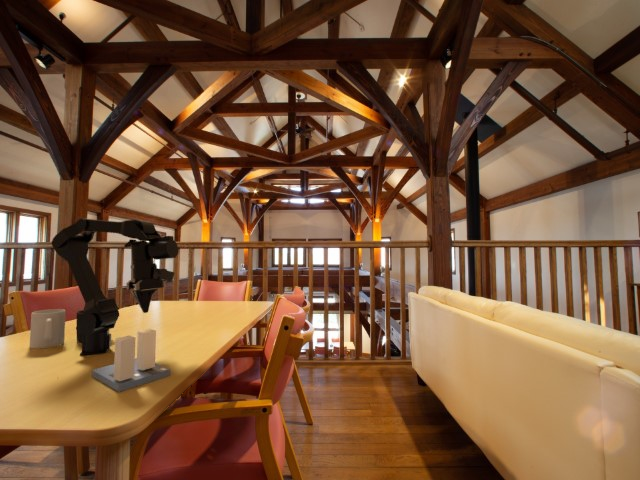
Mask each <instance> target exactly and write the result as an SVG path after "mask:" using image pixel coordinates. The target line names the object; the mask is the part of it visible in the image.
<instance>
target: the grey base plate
mask: <svg viewBox="0 0 640 480" xmlns="http://www.w3.org/2000/svg"><path fill="white" fill-rule="evenodd" d="M169 376H171V369H170V368H169V367H166V366H164V365H161V364H159V363H156V362H155V367H153V368H149V369H146V370H143V371H142V370H140V369H138V368H137V357H135V365H134V377H133V378H129V379H126V380H123V381H118V380H116V379H114V363H113V364H109V365H106V366H101V367H97V368H94V369H91V377H92V378H94V379H96V380H97V381H99V382H100V383H102V384H104V385H106V386H108V387H109V388H111V389H113V390H114V391H116V392H117V393H120V392H123V391H124V392H125V391H127V390H130V389H134V388H135V387H138V386H142V385H145V384H149V383H150V382H154V381H157V380H160V379H163V378H165V377H169Z"/></svg>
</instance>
